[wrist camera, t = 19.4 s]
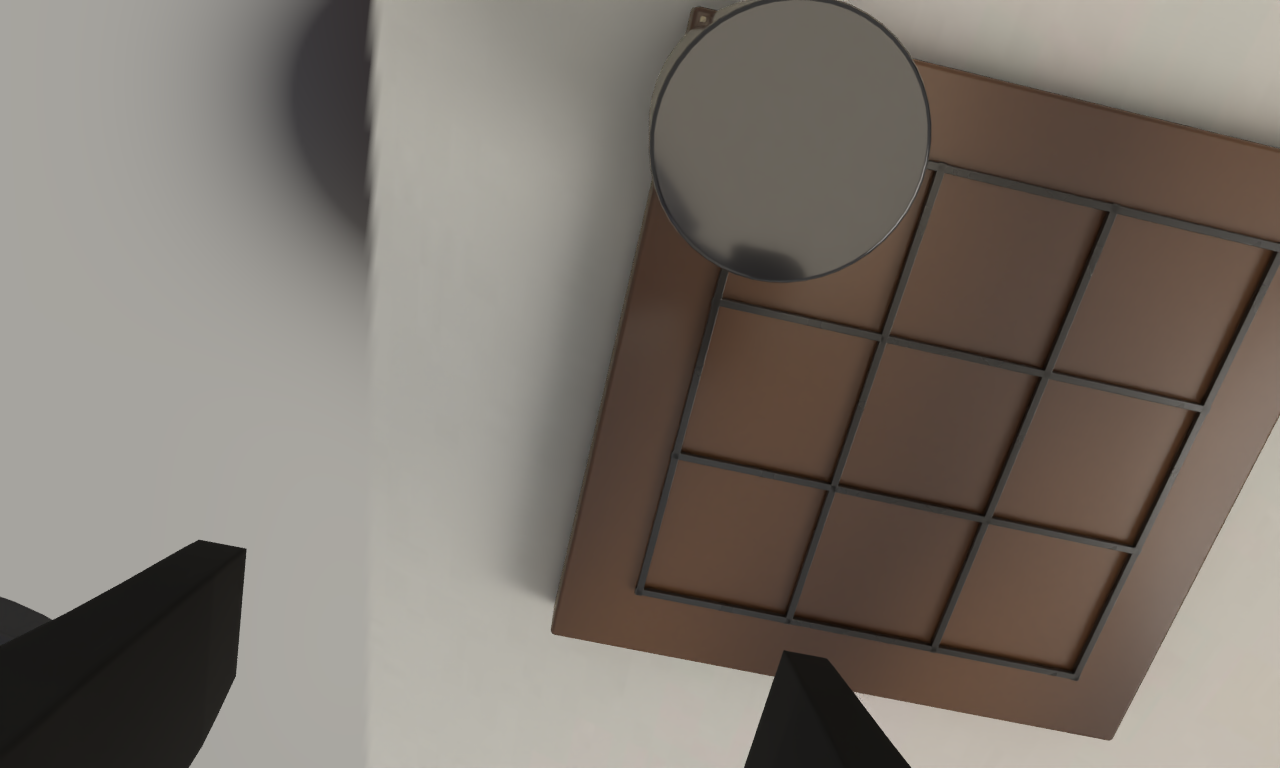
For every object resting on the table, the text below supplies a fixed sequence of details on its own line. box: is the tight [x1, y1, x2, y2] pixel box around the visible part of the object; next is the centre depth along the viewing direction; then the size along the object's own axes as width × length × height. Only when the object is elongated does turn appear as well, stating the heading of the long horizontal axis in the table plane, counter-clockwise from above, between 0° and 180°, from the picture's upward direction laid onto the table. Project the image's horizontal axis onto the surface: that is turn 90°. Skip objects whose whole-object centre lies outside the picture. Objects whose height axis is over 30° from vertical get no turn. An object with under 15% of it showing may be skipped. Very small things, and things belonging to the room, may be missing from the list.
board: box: [551, 7, 1280, 740], centre depth 21 cm, size 14×14×1 cm
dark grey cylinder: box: [649, 0, 932, 283], centre depth 16 cm, size 4×4×3 cm
